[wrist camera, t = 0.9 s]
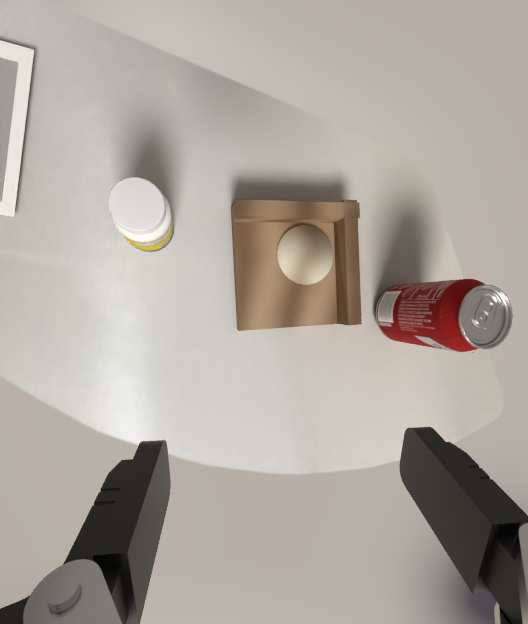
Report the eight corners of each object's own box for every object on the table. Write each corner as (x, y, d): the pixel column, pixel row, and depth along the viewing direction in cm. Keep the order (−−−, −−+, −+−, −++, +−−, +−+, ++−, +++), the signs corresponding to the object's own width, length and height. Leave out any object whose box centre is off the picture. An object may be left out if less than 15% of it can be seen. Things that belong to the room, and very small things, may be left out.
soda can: (362, 323, 38) (442, 333, 26) (388, 274, 38) (476, 262, 27) (405, 350, 39) (498, 369, 28) (428, 302, 40) (529, 302, 28)
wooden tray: (237, 329, 34) (243, 332, 31) (231, 207, 34) (236, 196, 30) (347, 322, 37) (363, 324, 34) (343, 209, 37) (359, 200, 33)
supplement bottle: (120, 206, 31) (97, 171, 23) (170, 203, 32) (165, 168, 24) (128, 255, 31) (107, 238, 23) (177, 250, 32) (174, 233, 24)
